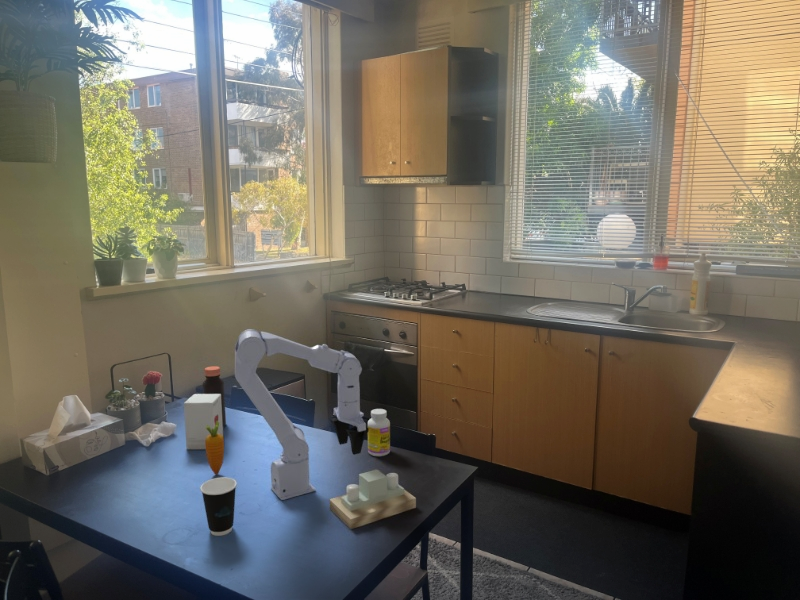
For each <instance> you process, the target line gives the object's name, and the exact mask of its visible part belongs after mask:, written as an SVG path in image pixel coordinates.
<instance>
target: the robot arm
mask: <svg viewBox="0 0 800 600" xmlns="http://www.w3.org/2000/svg"><path fill="white" fill-rule="evenodd" d="M278 353H280V354H284V355H288V356H292V357H295V358H299V359H303V360H307V362H308V364H309V365H310V366H311V367H313V368H316V369H319V370H323V371H326V372H329V373H333V374H336V373H337V407H333V415H334V416H335V417H332V418H331V419H330V422H331V424H332V425H333V427H334V430H335V433H336V436H337V441H338V444H339V445H340V446H342V445H346V444H348V440H349V441H350V447H351V449H350V450H351V454H352V455H353V456H354V455H359V454H361V453H362V449H363V444H364V441H365V438H366V436H367V435H368V431H369V428H368V426H367V424H366V422H365V421H364V419H363V417H364V416H365V415H364V414H365V413H364V412H362V411H361V405H360V403H361V401H360V399H361V396H360V394H361V393H360V392H361V391H360V375H361V373H362V371H363V368H362V365H361V362H360V360H359V359H358V358H356V356H355V355H354V354H353V353H350V352H349V351H345V350H342V349H341V350H336V349H332V348H330V347H329V345H327V344H326V343H323V344H322V345H320V344H316V345H314V346H311V347H310V346H307V345H306V344H305V345H304V344H301V343H299V342H296V341H294V340H290V339H288V338H284V337H282V336H279V335H276V334H273V333H271V332H267V331H260V332H259V330H256V329H253V328H252V329H251V328H250V329H249V328H248V329H246V330H243V331H242V332H241V333H240V334H239V336H238V338H237V340H236V343H235V346H234V377H235V380H236V382H238V385H240V387H241V388H242V389H243V391H244V393H246V395H247V397H248V398H249V399H250V401H251V402H252V404H253V405H254V406H255V407H256V409H257V410H258V412H259V413H260V415H261V416H262V418H263V420H265V422H266V423H267V424H268V426H269V428H271V431H273V433H274V435H275V436H276V439H277V441H278V442H279V444H280V446H281V447H282V452H281V453H280V457H279V458H278V459H276V460H274V461H272V462H271V463H270V479H271V481H270V482H271V486H270V489H271V490H272V492H273V493H274V494H275V495H276V496H277V497H278V498H279V499H280V501H283V500H287V499H292V498H295V497H298V496H301V495H305V494H309V493H312V492H315V491H316V487H314V486H313V485H312V484H311V481H310V460H309V459H310V455H309V451H310V450H309V449H310V448H309V444H308V442H307V440H306V438H305V433H304V431H303V430H302V429H301V428H300V427H298V426H296V425H295V424H294V423H293V422H292V420H290V419H289V418H288V416H287V415H286V414H285V411H283V409H282V408H281V406H280V405H279V403H278V402H277V401H276V400H275V398H274V397H273V395H272V394H271V392H270V390H269V389H268V388H267V386H266V385H265V384H264V382H263V381H262V379H261V378H260V377H259V375H258V373H257V372H256V371H257V368H258V365H259V363H260V361H261V360H262V359H263V358H264V355H265V354H266V357H270V356H273V355H275V354H278ZM350 425H352V427H350Z"/></svg>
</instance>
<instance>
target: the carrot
mask: <svg viewBox="0 0 800 600" xmlns="http://www.w3.org/2000/svg"><path fill="white" fill-rule="evenodd" d="M218 427H219V422H218V421H216V426H215V428H214V429H213V428H212V430H211V428H210V427H209V426H208V425H207V426H206V429H207V430H208V431H209V433H210V434H211V435H209V436H207V438H206V440H205V445H206V449H205V452H206V458H207V462H208V465H209V467H210V469H211V471H212V472H213V474H215V475H216V476H217V475H219V473H220V470H221V468H222V466H223V462H224V454H225V438H224V435H223V436H222V435H220V434H217V431H218Z"/></svg>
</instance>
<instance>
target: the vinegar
mask: <svg viewBox="0 0 800 600" xmlns="http://www.w3.org/2000/svg"><path fill="white" fill-rule="evenodd" d="M220 376H221V367H220V366H217V365H215V366H207V367H205V368H204V377H205V380H204V381H203V382H202V394H221V405H222V423H223V427H225V426H226V424H227V418H226V401H225V385H224V384H225V382H224V380H223V379H221V378H220Z"/></svg>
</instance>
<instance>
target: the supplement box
mask: <svg viewBox="0 0 800 600" xmlns="http://www.w3.org/2000/svg"><path fill="white" fill-rule="evenodd" d="M183 413H184V427H185V428H184V429H185V445H186V446H185V447H186V450H206V445H205V440H206V438H207V436H209V435H211V434H210V433H209V431H208V430H207V429H206V426H207V425H208V426H209V427H210V428H211V430H212V428H213V429H214V428H215V426H216V421H218V422H219V427H218V431H217V434H220V435H222V436H223V437H224V426H223V423H222V405H221V394H203V393H194V394H192V395H191V396H190V397H189V398H188V399H187V400H186V401H184V402H183Z"/></svg>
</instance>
